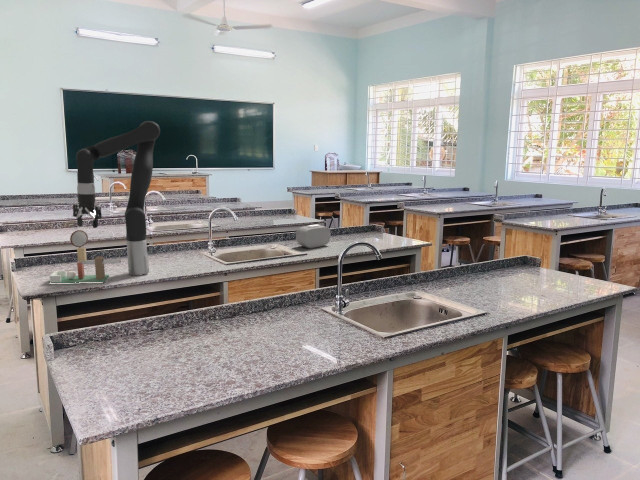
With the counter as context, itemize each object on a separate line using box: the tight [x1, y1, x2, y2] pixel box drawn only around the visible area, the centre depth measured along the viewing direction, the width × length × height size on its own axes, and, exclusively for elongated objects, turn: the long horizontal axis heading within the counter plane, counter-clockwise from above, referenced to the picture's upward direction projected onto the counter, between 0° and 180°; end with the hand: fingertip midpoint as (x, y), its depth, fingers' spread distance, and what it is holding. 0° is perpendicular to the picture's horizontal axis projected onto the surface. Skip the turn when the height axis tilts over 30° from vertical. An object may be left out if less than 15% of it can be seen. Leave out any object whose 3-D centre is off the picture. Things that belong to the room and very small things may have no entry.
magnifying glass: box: [69, 229, 89, 248], centre depth 261 cm, size 9×2×20 cm, turn 137°
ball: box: [66, 270, 77, 279], centre depth 241 cm, size 4×4×4 cm
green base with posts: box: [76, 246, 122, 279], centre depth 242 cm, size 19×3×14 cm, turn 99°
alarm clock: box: [295, 224, 332, 249], centre depth 319 cm, size 21×10×13 cm, turn 130°
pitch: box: [49, 255, 110, 283], centre depth 241 cm, size 24×11×11 cm, turn 99°
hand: (87, 226), depth 242 cm, fingers open, 8 cm apart
